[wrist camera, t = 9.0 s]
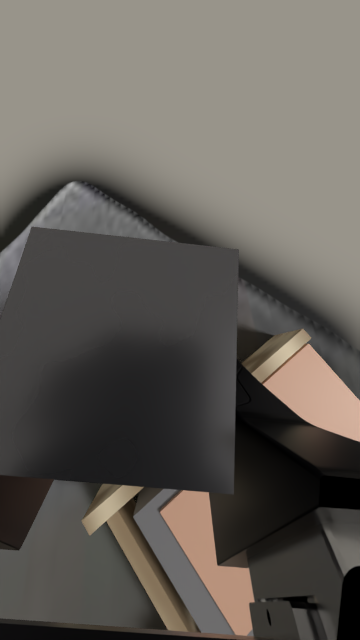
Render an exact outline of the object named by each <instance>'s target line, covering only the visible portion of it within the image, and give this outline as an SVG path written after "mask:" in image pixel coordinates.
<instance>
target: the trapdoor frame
mask: <svg viewBox="0 0 360 640" xmlns="http://www.w3.org/2000/svg"><path fill="white" fill-rule="evenodd" d="M310 339H311V337H310V336H309V335H308V334H307V333H306V331H305V330H304V329H300V330H295V331H291V332H287V333H283V334H279V335H274V336H273V337H272V338H271V339H270V340H268V341H267V342H266V343H265V344H264V345H262V346H261V347H260V348H259V349H258V350H257V351H255V352H254V353H253V354H252V355H251V356H249V357H248V358H247V359H246V360H245V361H244V362H242V363H241V364H242V365H243V366H244V367H245V368H246V369H247V370H248V371H249V372H250V373H251V374H252V375H253V376H254V377H255V378H256V379H257V380H258V381H259V382H261V383H262V382H263V381H264V380H265V379H266V378H267V377H268V376H269V375H271V374H272V373H273V372H274V371H275V370H276V369H277V368H278V367H279V366H281V365H282V364H283V363H284V362H285V361H286V360H287V359H288V358H290V357H291V356H292V355H293V354H294V353H295V352H296V351H297V350H299V349H300V348H301V347H302V346H303V345H304V344H305V343H306V342H308V341H309V340H310ZM143 488H144V487H138V486H126V485H114V484H102V486H101V487H100V489H99V491H98V493H97V494H96V496H95V498H94V500H93V502H92V503H91V505H90V507H89V509H88V510H87V512H86V514H85V516H84V517H83V519H82V522H83V524H84V526H85V528H86V530H87V532H88V533H89V535H91V534H92V533H93V532H94V531H95V530H97V529H98V528H99V527H100V526H101V525H102V524H103V523H104V522H105V521H107V523H108V525H109V527H110V528H111V530H112V532H113V534H114V536H115V537H116V539H117V541H118V543H119V544H120V546H121V548H122V550H123V551H124V553H125V555H126V557H127V558H128V560H129V562H130V564H131V566H132V567H133V569H134V571H135V573H136V574H137V576H138V578H139V580H140V581H141V583H142V585H143V587H144V589H145V590H146V592H147V594H148V596H149V597H150V599H151V601H152V603H153V604H154V606H155V608H156V610H157V611H158V613H159V615H160V617H161V619H162V620H163V622H164V624H165V626H166V627H167V629H168V630H171V631H185V632H200V633H201V631H200V629H199V627H198V626H197V624H196V622H195V621H194V619H193V617H192V616H191V614H190V612H189V611H188V609H187V607H186V606H185V604H184V602H183V600H182V599H181V597H180V595H179V594H178V592H177V590H176V589H175V587H174V585H173V584H172V582H171V580H170V579H169V577H168V575H167V573H166V572H165V570H164V568H163V567H162V565H161V563H160V562H159V560H158V558H157V557H156V555H155V553H154V552H153V550H152V548H151V546H150V545H149V543H148V541H147V540H146V538H145V536H144V535H143V533H142V531H141V530H140V528H139V526H138V525H137V523H136V521H135V519H134V518H133V515H134V511H135V507H136V502H135V501H134V499H133V497H134V496H135V495H136V494H137V493H138V492H139V491H140V490H141V489H143Z"/></svg>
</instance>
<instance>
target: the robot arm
mask: <svg viewBox="0 0 360 640" xmlns="http://www.w3.org/2000/svg"><path fill="white" fill-rule="evenodd" d="M53 480H54V479H42V478H30V477H18V476H7V475H0V549H6V550H19V549H20V548H21V546H22V544H23V542H24V540H25V538H26V536H27V534H28V532H29V530H30V528H31V526H32V524H33V522H34V520H35V517H36V515H37V513H38V511H39V509H40V507H41V505H42V503H43V501H44V499H45V497H46V495H47V493H48V491H49V489H50V487H51V484H52V482H53ZM209 499H210V508H211V516H212V525H213V534H214V542H215V551H216V559H217V565H218V566H226V567H239V568H249V573H250V579H251V585H252V591H253V596H254V602H250V603H249V609H250V616H251V622H252V628H253V635H254V636H243V635H228V634H214V633H200V632H185V631H171V630H157V629H143V628H128V627H114V626H100V625H85V624H71V623H57V622H43V621H28V620H14V619H0V640H360V442H359V441H356V440H353V439H350V438H347V437H344V436H341V435H339V434H336V433H333V432H330V431H327V430H324V429H322V428H319V427H317V426H314V425H312V424H310V423H309V422H307V421H305V420H304V419H302V418H301V417H300V416H298V415H297V414H296V413H295V412H294V411H292V410H291V409H290V408H289V407H288V406H287V405H286V404H284V403H283V402H282V401H281V400H280V399H279V398H277V397H276V396H275V395H274V394H273V393H272V392H271V391H269V390H268V389H267V388H266V387H265V386H264V385H263V384H262V383H261V382H259V381H258V380H257V379H256V378H255V377H254V376H253V375H252V374H251V373H250V372H249V371H248V370H247V369H246V368H245V367H244V366H243V365H242V364H241V363H240V362H239V361H238V359H237V358H236V407H235V456H234V495H233V494H221V493H209Z"/></svg>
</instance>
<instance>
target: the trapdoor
mask: <svg viewBox="0 0 360 640" xmlns="http://www.w3.org/2000/svg"><path fill="white" fill-rule="evenodd" d="M262 384H263V385H264V386H265V387H266V388H267V389H268V390H269V391H271V392H272V393H273V394H274V395H275V396H276V397H277V398H279V399H280V400H281V401H282V402H283V403H284V404H286V405H287V406H288V407H289V408H290V409H291V410H292V411H294V412H295V413H296V414H297V415H298V416H300V417H301V418H302V419H304V420H305V421H307V422H309V423H310V424H312V425H314V426H317V427H319V428H322V429H324V430H327V431H330V432H333V433H336V434H339V435H341V436H344V437H347V438H350V439H353V440H356V441H359V442H360V401H359V400H358V398H357V397H356V396H355V395H354V394H353V393H352V392H351V391H350V389H349V388H348V387H347V386H346V385H345V384H344V383H343V382H342V380H341V379H340V378H339V377H338V376H337V375H336V374H335V373H334V371H333V370H332V369H331V368H330V367H329V366H328V365H327V364H326V362H325V361H324V360H323V359H322V358H321V357H320V356H319V355H318V353H317V352H316V351H315V350H314V349H313V348H312V347H311V346H310V345H309V344H304V345H303V346H302V347H301V348H300V349H299V350H297V351H296V352H295V353H294V354H293V355H292V356H291V357H290V358H288V359H287V360H286V361H285V362H284V363H283V364H282V365H281V366H279V367H278V368H277V369H276V370H275V371H274V372H273V373H272V374H271V375H269V376H268V377H267V378H266V379H265V380H264V381H263V382H262ZM133 518H134V519H135V521H136V523H137V525H138V526H139V528H140V530H141V531H142V533H143V535H144V536H145V538H146V540H147V541H148V543H149V545H150V546H151V548H152V550H153V552H154V553H155V555H156V557H157V558H158V560H159V562H160V563H161V565H162V567H163V568H164V570H165V572H166V573H167V575H168V577H169V579H170V580H171V582H172V584H173V585H174V587H175V589H176V590H177V592H178V594H179V595H180V597H181V599H182V600H183V602H184V604H185V606H186V607H187V609H188V611H189V612H190V614H191V616H192V617H193V619H194V621H195V622H196V624H197V626H198V627H199V629H200V631H201V633H214V634H228V635H243V636H254V635H253V628H252V622H251V616H250V609H249V603H250V602H254V596H253V591H252V585H251V579H250V573H249V568H239V567H226V566H218V565H217V559H216V551H215V542H214V534H213V525H212V516H211V508H210V499H209V492H197V491H185V490H173V489H162V488H150V487H144V488H143V489H141V490H140V491H139V495H138V499H137V503H136V507H135V511H134V515H133Z"/></svg>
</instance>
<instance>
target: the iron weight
mask: <svg viewBox="0 0 360 640" xmlns="http://www.w3.org/2000/svg"><path fill="white" fill-rule="evenodd" d="M238 258H239V250H238V249H229V248H220V247H211V246H202V245H193V244H184V243H175V242H166V241H157V240H148V239H139V238H130V237H121V236H111V235H102V234H93V233H84V232H75V231H66V230H57V229H48V228H39V227H32V228H31V231H30V234H29V236H28V239H27V242H26V245H25V248H24V251H23V254H22V257H21V260H20V263H19V266H18V269H17V272H16V275H15V278H14V281H13V284H12V286H11V289H10V292H9V295H8V298H7V301H6V304H5V307H4V310H3V313H2V316H1V319H0V475H7V476H18V477H30V478H42V479H54V480H66V481H78V482H90V483H102V484H114V485H126V486H138V487H150V488H162V489H173V490H185V491H197V492H209V493H221V494H233V495H234V456H235V407H236V358H237V309H238V260H239V259H238Z"/></svg>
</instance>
